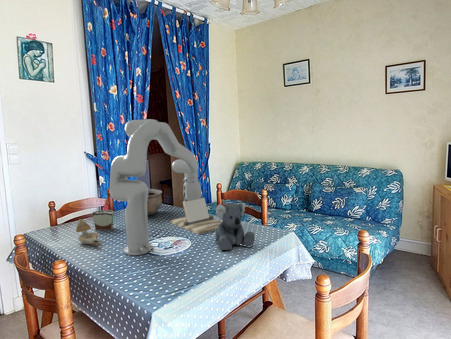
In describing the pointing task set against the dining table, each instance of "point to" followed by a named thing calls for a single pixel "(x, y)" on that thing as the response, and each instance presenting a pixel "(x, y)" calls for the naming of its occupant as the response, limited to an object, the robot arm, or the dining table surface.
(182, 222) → the tile stand
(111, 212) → the food container
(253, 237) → the koala plush
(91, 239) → the oil lamp
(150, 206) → the ceramic bowl
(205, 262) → the dining table surface
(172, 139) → the robot arm
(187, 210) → the tile
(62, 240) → the dining table surface
